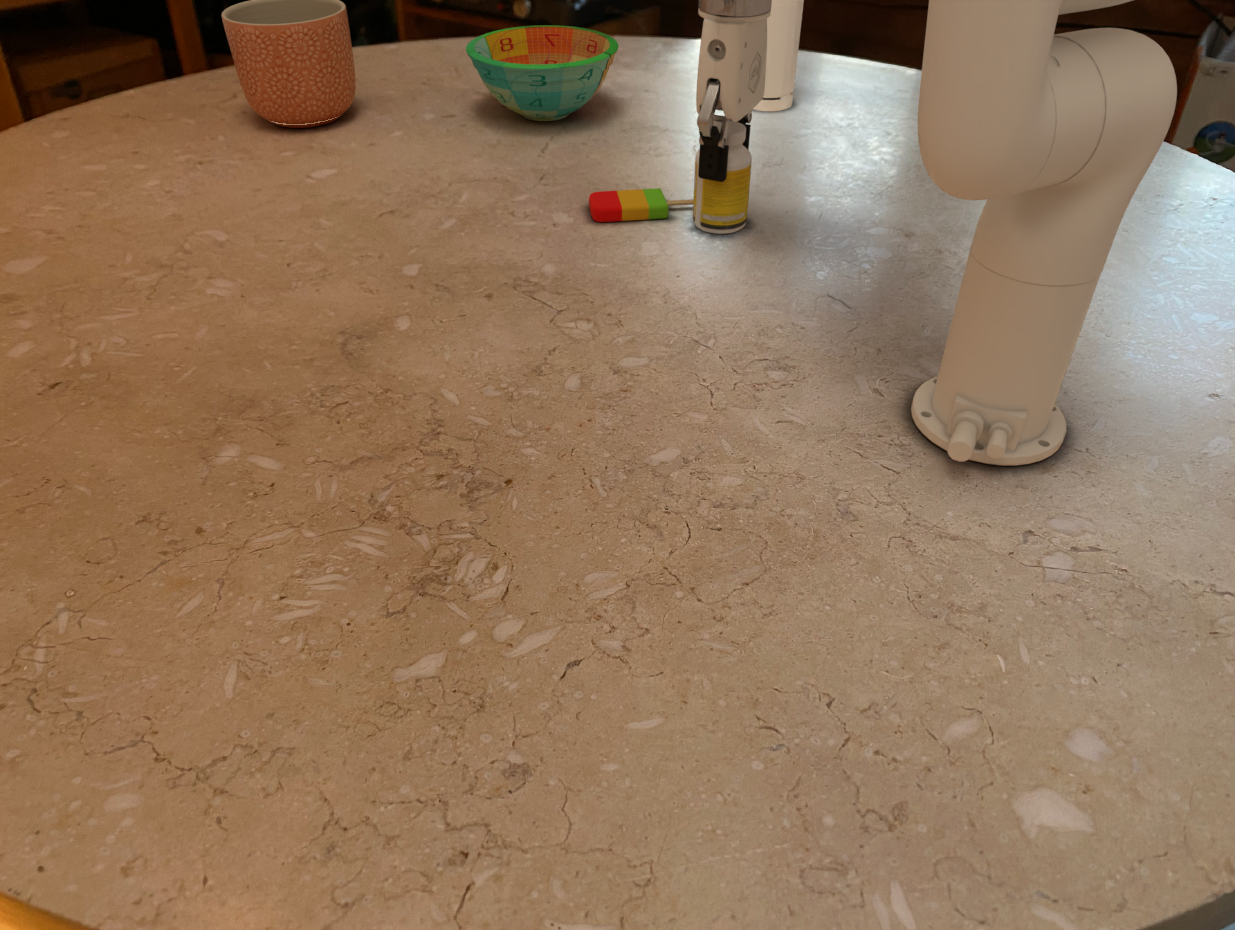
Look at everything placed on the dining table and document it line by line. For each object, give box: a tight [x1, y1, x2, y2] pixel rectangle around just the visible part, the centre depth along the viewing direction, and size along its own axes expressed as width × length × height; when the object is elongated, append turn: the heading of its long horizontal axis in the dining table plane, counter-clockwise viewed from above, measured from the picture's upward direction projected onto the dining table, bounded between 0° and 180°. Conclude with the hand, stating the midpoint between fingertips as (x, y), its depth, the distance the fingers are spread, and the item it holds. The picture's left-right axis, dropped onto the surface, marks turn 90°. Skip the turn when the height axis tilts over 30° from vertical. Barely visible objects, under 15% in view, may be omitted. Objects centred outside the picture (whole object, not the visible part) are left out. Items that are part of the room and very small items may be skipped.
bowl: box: [465, 24, 619, 122], centre depth 140 cm, size 22×22×10 cm
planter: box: [221, 0, 357, 129], centre depth 138 cm, size 17×17×15 cm
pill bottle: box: [692, 121, 753, 235], centre depth 109 cm, size 6×6×12 cm
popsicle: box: [588, 187, 694, 223], centre depth 115 cm, size 6×15×2 cm, turn 98°
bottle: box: [752, 0, 805, 112], centre depth 138 cm, size 8×8×28 cm
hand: (723, 166), depth 108 cm, fingers closed on pill bottle, 6 cm apart
